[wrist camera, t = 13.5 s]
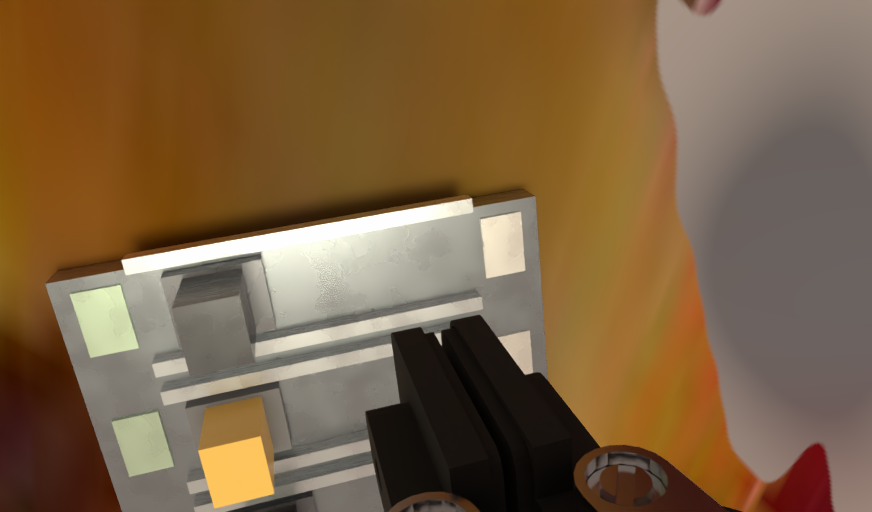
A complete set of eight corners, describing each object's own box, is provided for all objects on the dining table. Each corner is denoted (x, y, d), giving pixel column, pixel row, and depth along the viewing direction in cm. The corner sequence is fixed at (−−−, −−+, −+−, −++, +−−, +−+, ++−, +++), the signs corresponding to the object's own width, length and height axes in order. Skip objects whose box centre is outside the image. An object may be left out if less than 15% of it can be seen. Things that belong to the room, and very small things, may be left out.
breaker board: (52, 256, 35) (3, 305, 28) (521, 175, 39) (570, 202, 33) (157, 577, 42) (138, 673, 35) (543, 475, 47) (587, 545, 40)
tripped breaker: (186, 401, 36) (175, 451, 32) (278, 381, 37) (279, 427, 33) (203, 461, 38) (195, 517, 33) (291, 441, 39) (294, 493, 34)
